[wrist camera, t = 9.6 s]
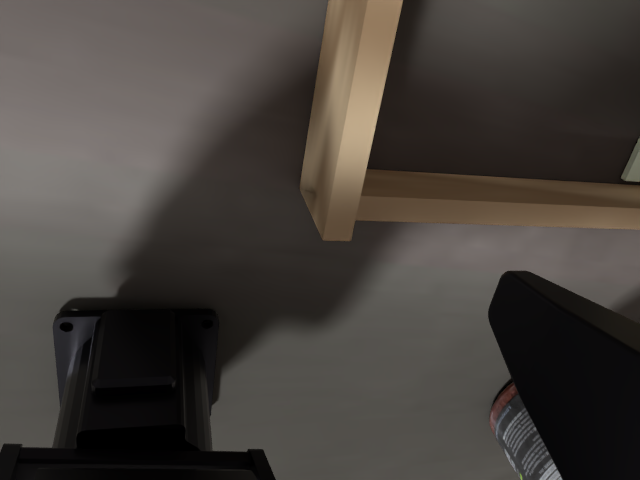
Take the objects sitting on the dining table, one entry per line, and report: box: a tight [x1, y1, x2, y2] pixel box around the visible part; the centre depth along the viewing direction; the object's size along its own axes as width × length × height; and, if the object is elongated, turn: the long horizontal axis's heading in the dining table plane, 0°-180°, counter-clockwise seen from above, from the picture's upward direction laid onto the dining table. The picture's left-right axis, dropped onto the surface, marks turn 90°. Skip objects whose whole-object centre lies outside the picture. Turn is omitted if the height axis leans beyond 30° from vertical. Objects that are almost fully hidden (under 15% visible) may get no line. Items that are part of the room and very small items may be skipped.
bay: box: [299, 0, 640, 241], centre depth 20 cm, size 14×21×4 cm, turn 81°
